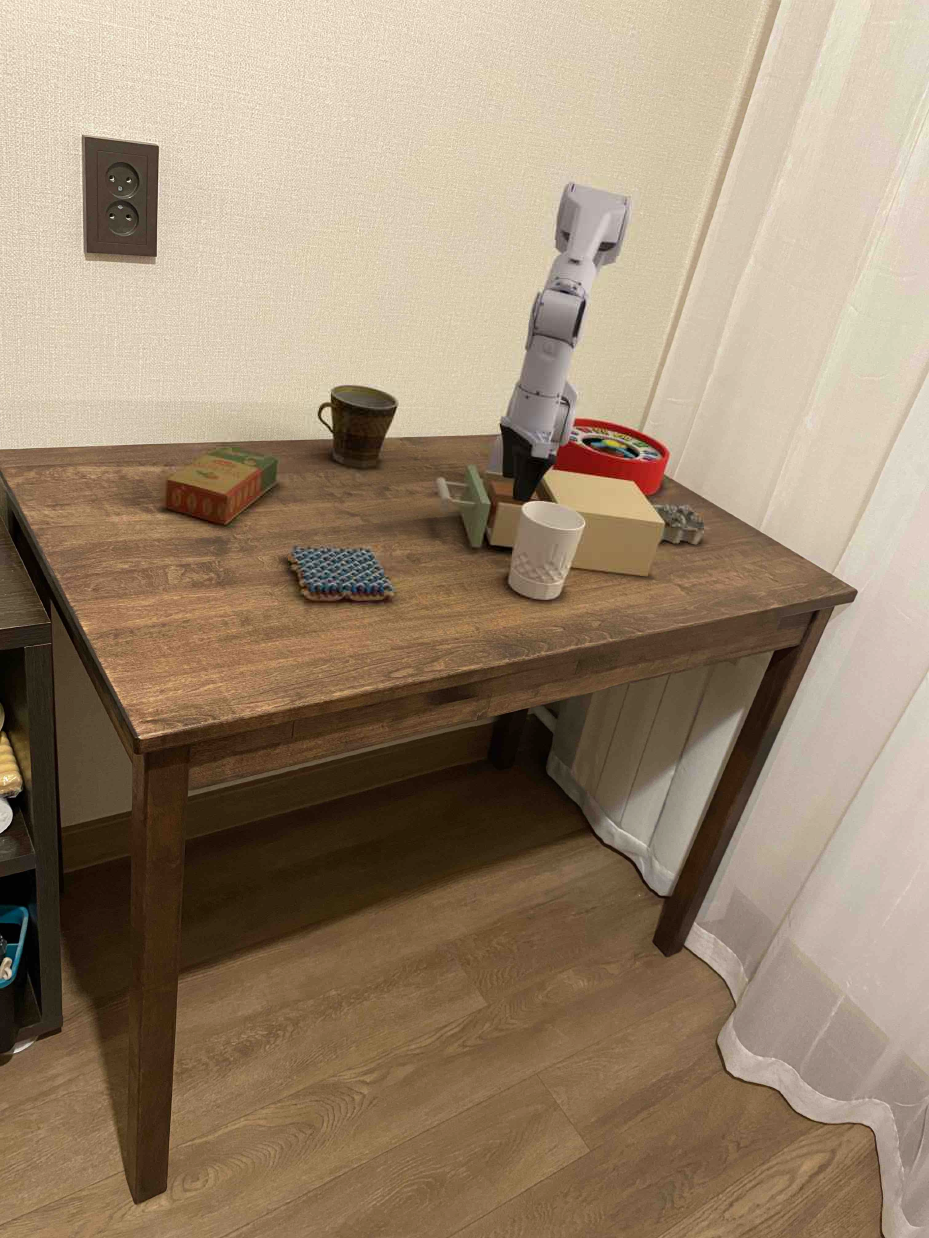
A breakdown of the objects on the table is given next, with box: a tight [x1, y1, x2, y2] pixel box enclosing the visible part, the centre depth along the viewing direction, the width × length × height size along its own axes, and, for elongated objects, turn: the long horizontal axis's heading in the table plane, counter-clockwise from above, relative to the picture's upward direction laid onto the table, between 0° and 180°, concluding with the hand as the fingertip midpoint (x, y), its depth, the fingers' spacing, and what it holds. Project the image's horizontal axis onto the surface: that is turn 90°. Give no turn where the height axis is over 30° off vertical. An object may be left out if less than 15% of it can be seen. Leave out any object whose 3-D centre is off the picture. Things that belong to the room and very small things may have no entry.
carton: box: [163, 443, 278, 525], centre depth 117 cm, size 8×16×4 cm, turn 168°
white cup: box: [507, 501, 585, 601], centre depth 112 cm, size 8×8×10 cm
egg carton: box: [651, 503, 710, 545], centre depth 138 cm, size 11×8×4 cm
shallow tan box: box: [541, 468, 665, 577], centre depth 127 cm, size 15×14×8 cm
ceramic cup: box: [317, 384, 399, 469], centre depth 136 cm, size 13×10×10 cm
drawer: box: [434, 464, 553, 549], centre depth 124 cm, size 18×13×6 cm
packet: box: [486, 481, 539, 528], centre depth 124 cm, size 6×4×5 cm
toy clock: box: [552, 417, 671, 496], centre depth 157 cm, size 20×6×20 cm
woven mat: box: [287, 545, 395, 602], centre depth 105 cm, size 10×11×2 cm
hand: (515, 488), depth 122 cm, fingers open, 7 cm apart
